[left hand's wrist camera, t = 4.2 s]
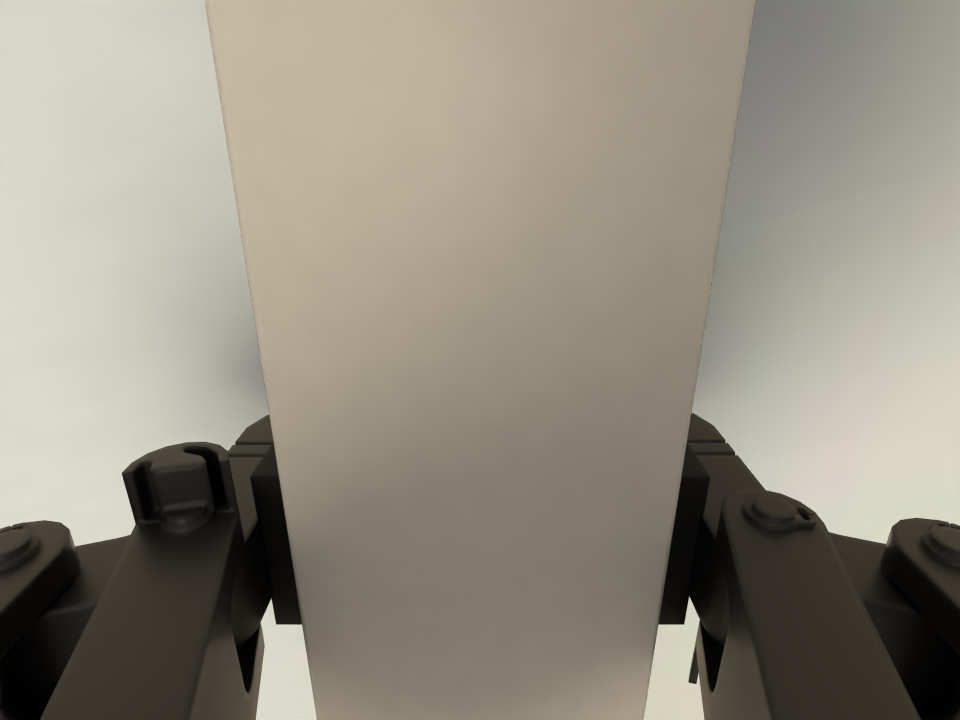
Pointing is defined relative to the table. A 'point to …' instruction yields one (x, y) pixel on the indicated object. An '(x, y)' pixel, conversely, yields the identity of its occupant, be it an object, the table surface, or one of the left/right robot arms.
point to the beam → (480, 329)
